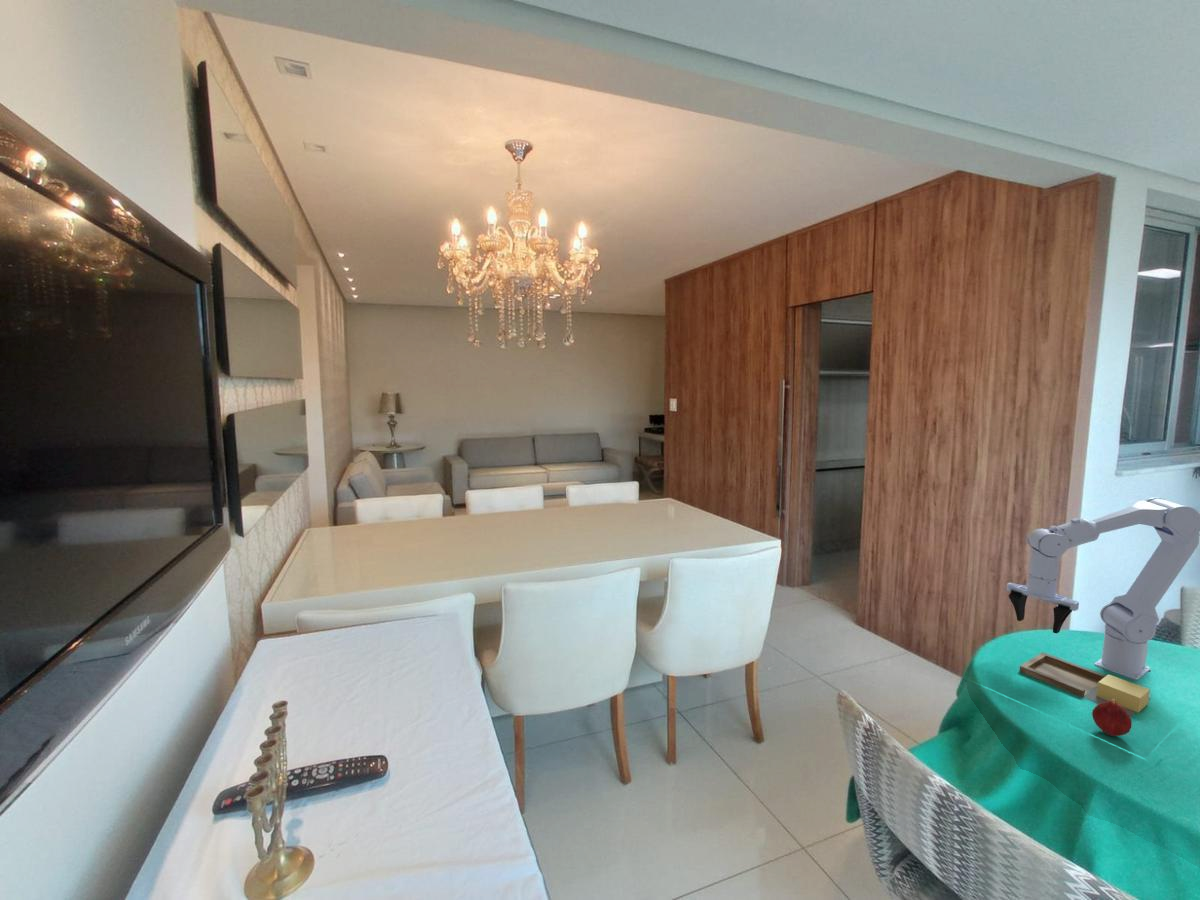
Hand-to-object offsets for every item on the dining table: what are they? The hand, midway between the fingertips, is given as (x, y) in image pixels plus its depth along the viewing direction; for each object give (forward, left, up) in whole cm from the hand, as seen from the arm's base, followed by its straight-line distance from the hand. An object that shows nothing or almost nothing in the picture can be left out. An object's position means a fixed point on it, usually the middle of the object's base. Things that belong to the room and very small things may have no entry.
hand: (1037, 625), depth 134 cm
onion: (+21, +21, -10) cm, 31 cm away
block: (+4, +18, -9) cm, 21 cm away
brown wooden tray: (+4, +7, -9) cm, 12 cm away
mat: (+4, +17, -9) cm, 20 cm away
